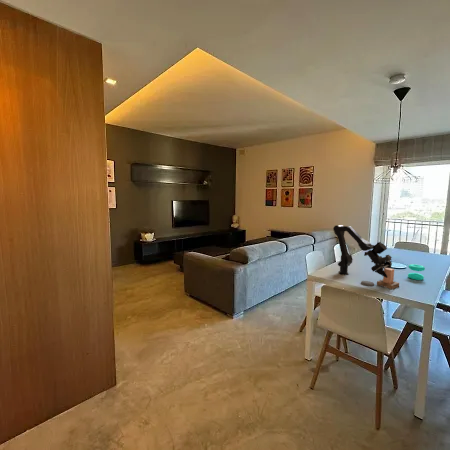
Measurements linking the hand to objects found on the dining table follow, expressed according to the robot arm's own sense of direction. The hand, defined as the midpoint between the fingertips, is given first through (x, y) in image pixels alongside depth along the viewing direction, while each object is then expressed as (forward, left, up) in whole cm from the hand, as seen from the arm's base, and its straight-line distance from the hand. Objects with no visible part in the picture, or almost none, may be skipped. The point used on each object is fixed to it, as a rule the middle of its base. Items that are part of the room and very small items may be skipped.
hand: (390, 276), depth 179 cm
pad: (0, -14, -7) cm, 15 cm away
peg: (-1, -1, -7) cm, 7 cm away
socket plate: (-1, -1, -7) cm, 7 cm away
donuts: (-25, +25, -7) cm, 36 cm away
